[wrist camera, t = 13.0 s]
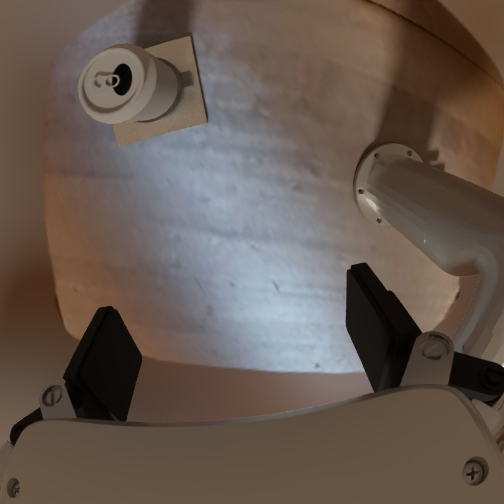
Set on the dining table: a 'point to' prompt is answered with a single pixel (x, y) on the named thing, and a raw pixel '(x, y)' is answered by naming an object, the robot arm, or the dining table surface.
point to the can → (126, 85)
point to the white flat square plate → (185, 104)
